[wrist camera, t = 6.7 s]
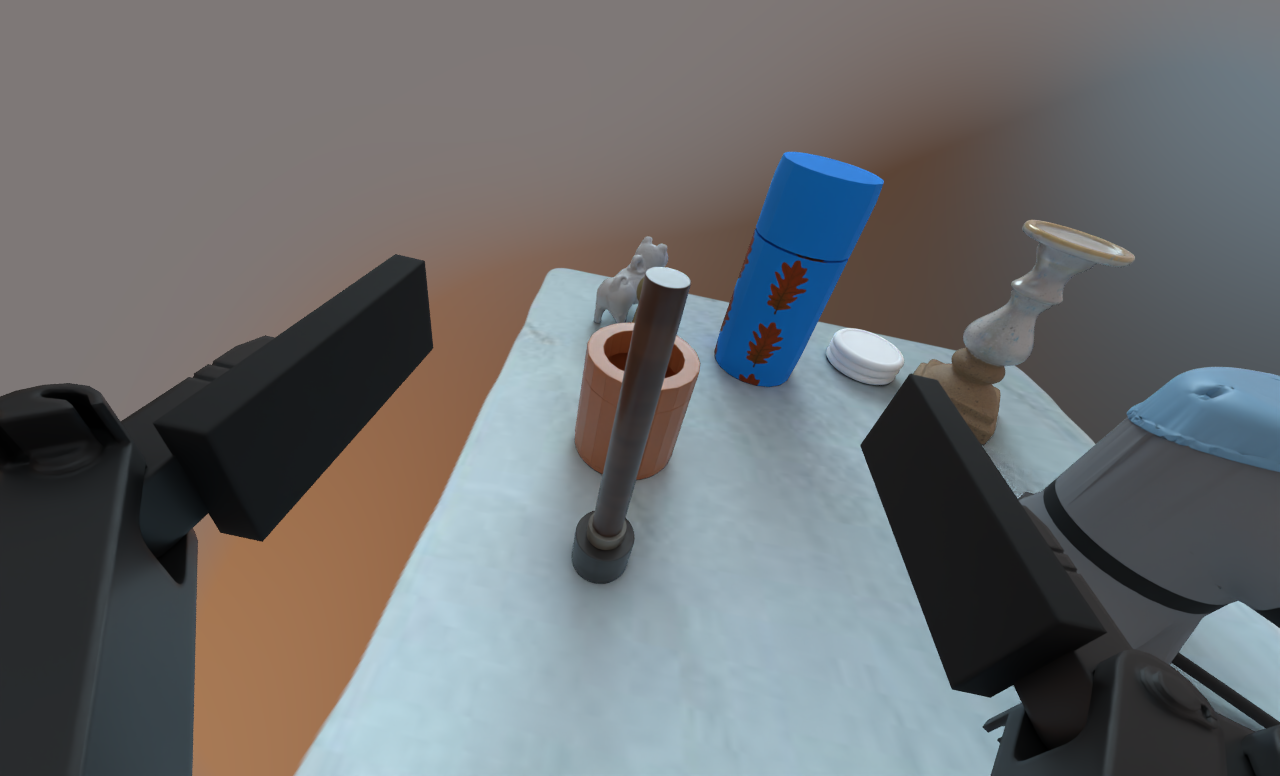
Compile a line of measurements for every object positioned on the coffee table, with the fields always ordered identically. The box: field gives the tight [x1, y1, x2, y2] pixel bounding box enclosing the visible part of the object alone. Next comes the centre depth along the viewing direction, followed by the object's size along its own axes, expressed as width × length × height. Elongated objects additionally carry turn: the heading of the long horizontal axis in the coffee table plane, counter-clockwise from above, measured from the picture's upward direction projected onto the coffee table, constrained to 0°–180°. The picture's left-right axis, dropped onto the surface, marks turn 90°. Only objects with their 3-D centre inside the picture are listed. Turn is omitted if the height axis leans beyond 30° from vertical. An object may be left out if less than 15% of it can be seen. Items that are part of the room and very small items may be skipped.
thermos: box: [715, 152, 883, 387], centre depth 55 cm, size 11×11×25 cm
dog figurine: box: [594, 237, 668, 323], centre depth 63 cm, size 5×13×11 cm, turn 148°
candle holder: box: [914, 220, 1135, 444], centre depth 56 cm, size 11×11×24 cm
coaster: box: [826, 328, 904, 385], centre depth 67 cm, size 10×10×4 cm
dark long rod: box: [572, 267, 691, 584], centre depth 29 cm, size 4×4×24 cm
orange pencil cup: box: [575, 322, 700, 480], centre depth 43 cm, size 10×10×11 cm
